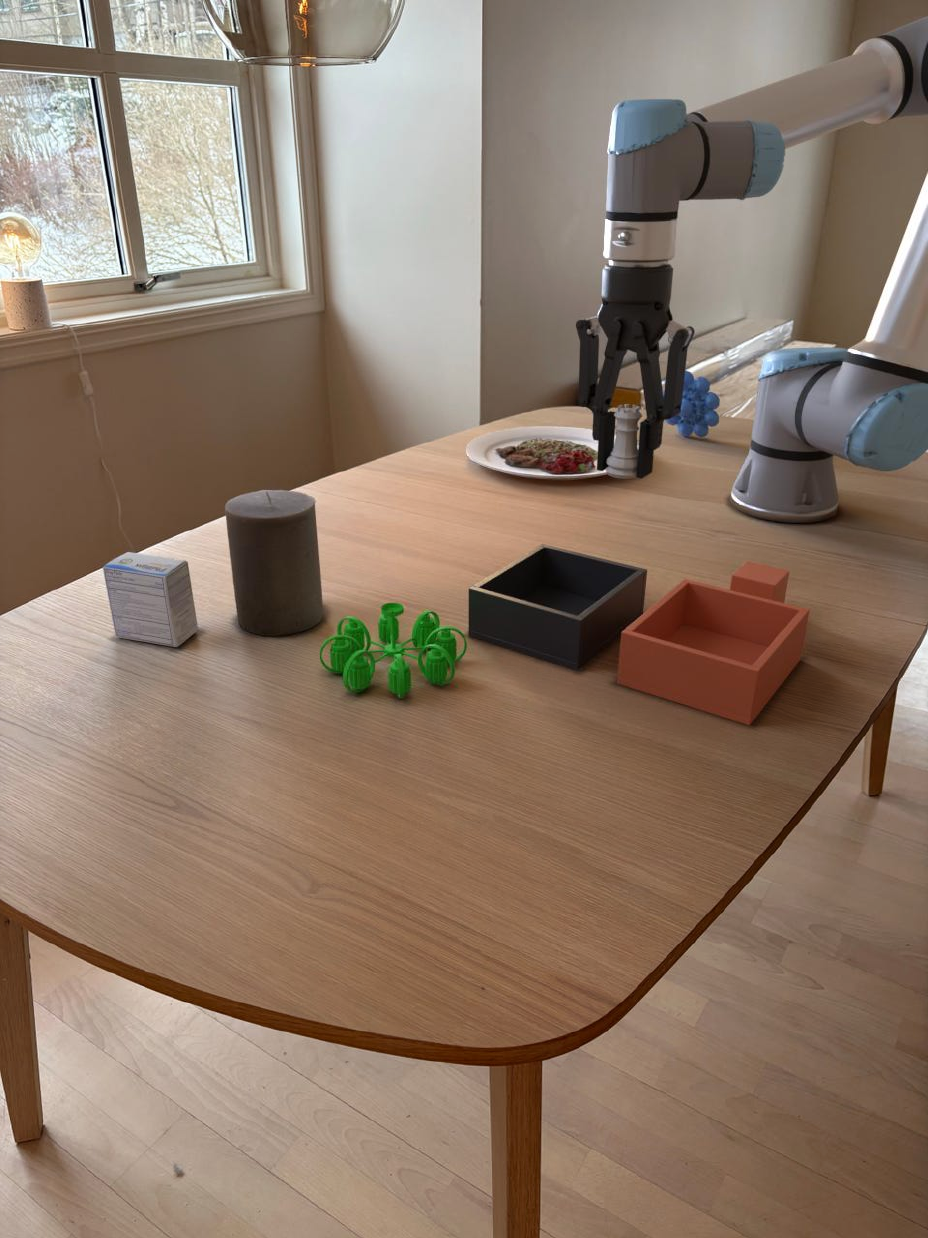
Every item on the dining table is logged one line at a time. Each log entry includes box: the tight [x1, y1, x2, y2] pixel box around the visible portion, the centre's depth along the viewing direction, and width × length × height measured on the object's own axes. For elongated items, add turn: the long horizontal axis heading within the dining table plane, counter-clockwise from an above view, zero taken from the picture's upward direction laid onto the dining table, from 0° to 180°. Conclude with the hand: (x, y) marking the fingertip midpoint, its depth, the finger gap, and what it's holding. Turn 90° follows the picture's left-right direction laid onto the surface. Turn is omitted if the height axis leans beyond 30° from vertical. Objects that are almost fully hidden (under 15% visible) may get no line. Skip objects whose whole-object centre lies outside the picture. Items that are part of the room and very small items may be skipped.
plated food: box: [465, 425, 639, 481], centre depth 163 cm, size 30×30×3 cm
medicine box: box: [102, 551, 199, 648], centre depth 102 cm, size 8×4×9 cm, turn 71°
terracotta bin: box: [616, 578, 811, 726], centre depth 96 cm, size 16×14×6 cm
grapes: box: [663, 369, 721, 438], centre depth 173 cm, size 12×7×12 cm, turn 60°
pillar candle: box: [224, 489, 324, 637], centre depth 105 cm, size 10×10×15 cm
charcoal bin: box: [467, 543, 648, 672], centre depth 105 cm, size 16×14×6 cm
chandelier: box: [319, 602, 468, 699], centre depth 96 cm, size 15×15×7 cm
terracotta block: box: [729, 560, 790, 603], centre depth 109 cm, size 5×5×5 cm
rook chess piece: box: [605, 403, 643, 480], centre depth 111 cm, size 4×4×8 cm
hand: (624, 470), depth 113 cm, fingers closed on rook chess piece, 4 cm apart
